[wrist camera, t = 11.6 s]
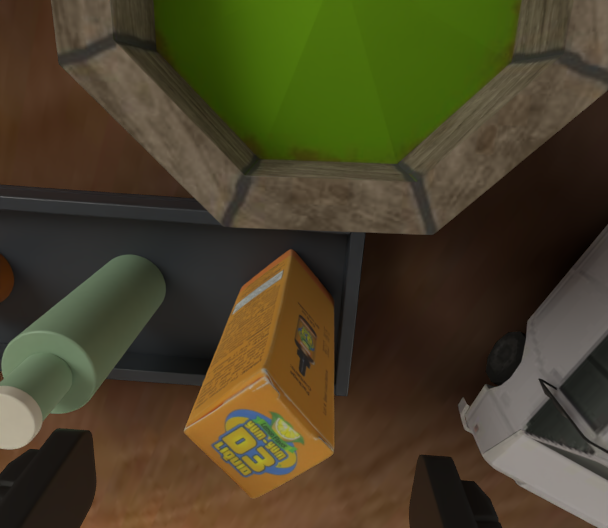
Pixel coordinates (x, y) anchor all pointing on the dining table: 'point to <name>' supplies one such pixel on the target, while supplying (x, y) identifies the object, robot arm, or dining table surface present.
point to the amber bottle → (5, 278)
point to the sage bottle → (75, 346)
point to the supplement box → (271, 381)
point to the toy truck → (553, 395)
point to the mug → (337, 98)
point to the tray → (162, 271)
